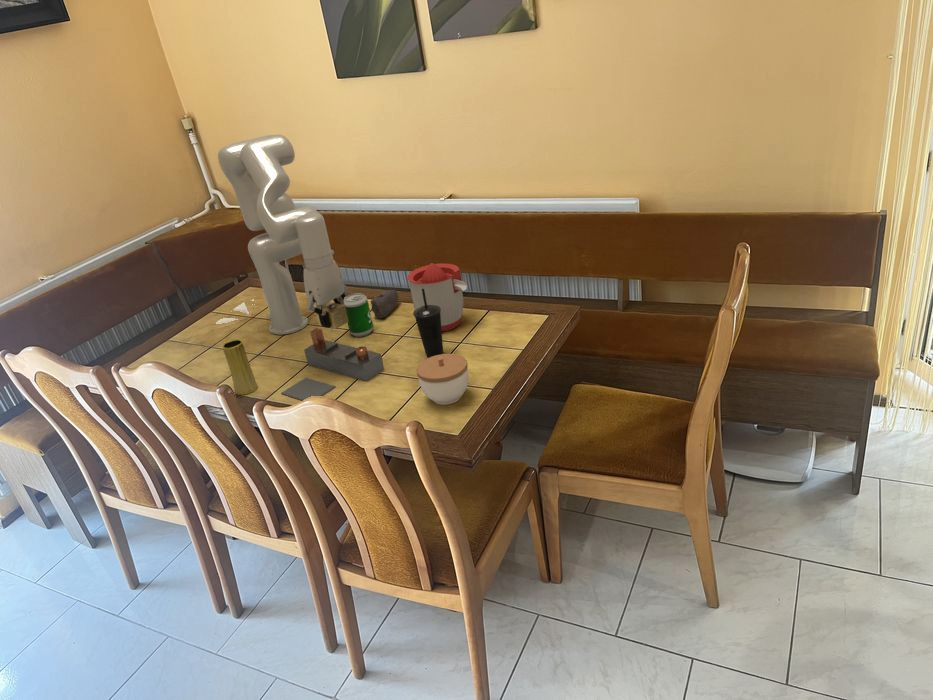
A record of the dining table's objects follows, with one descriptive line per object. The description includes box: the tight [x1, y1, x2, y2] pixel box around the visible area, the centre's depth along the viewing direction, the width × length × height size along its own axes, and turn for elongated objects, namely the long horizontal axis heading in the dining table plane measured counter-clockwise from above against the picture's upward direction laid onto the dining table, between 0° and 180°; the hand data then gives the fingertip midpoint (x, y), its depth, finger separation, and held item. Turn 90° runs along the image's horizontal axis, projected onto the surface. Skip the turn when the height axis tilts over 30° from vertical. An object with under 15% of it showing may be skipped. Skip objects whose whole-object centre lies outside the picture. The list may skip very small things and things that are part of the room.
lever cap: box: [315, 301, 349, 330], centre depth 197 cm, size 7×5×6 cm
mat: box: [280, 377, 336, 402], centre depth 194 cm, size 12×9×1 cm
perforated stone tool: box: [370, 289, 399, 319], centre depth 234 cm, size 15×5×7 cm, turn 155°
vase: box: [222, 339, 259, 396], centre depth 197 cm, size 6×6×14 cm
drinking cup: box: [412, 289, 444, 359], centre depth 198 cm, size 8×8×20 cm
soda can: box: [344, 292, 374, 338], centre depth 221 cm, size 8×8×12 cm
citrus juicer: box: [407, 262, 468, 332], centre depth 216 cm, size 16×17×20 cm
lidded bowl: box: [415, 353, 469, 406], centre depth 178 cm, size 13×13×11 cm
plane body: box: [303, 327, 385, 382], centre depth 202 cm, size 24×7×10 cm, turn 53°
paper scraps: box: [215, 298, 255, 324], centre depth 252 cm, size 26×14×2 cm, turn 149°
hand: (333, 321), depth 198 cm, fingers closed on lever cap, 4 cm apart
